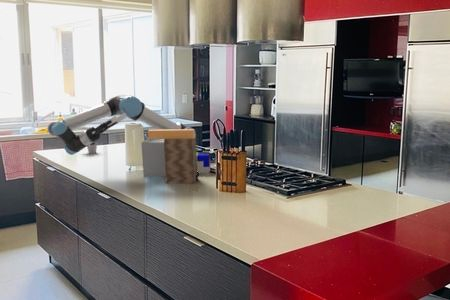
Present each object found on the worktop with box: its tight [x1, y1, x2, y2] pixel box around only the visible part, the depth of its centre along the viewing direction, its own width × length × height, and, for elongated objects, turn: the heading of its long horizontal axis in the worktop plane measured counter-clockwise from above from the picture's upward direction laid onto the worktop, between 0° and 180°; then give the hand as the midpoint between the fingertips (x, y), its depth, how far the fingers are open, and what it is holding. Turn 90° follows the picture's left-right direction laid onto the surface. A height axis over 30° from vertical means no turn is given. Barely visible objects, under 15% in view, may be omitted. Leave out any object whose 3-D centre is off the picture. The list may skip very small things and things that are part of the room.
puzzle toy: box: [196, 151, 211, 174], centre depth 274 cm, size 10×10×10 cm
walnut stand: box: [163, 136, 198, 184], centre depth 251 cm, size 15×9×23 cm, turn 82°
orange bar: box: [147, 128, 196, 140], centre depth 249 cm, size 24×4×4 cm, turn 82°
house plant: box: [86, 140, 98, 154], centre depth 339 cm, size 14×14×16 cm
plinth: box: [140, 139, 166, 177], centre depth 268 cm, size 16×9×19 cm, turn 82°
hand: (121, 116), depth 252 cm, fingers open, 13 cm apart
